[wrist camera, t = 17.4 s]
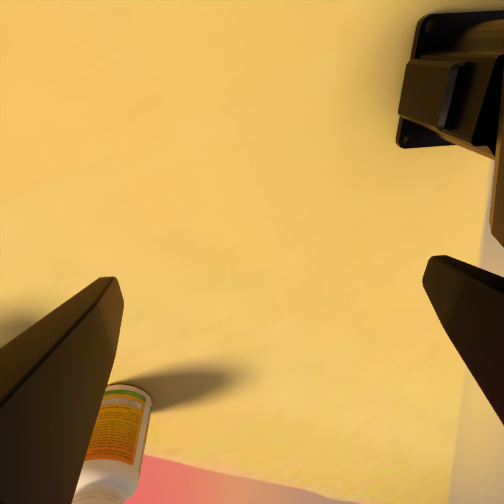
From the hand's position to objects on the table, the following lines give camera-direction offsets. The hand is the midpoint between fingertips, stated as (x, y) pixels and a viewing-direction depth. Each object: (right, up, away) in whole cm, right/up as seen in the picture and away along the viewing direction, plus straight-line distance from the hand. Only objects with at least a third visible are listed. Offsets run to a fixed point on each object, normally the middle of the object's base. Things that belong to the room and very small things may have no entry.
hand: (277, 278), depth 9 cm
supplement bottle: (-13, -13, +21) cm, 28 cm away
